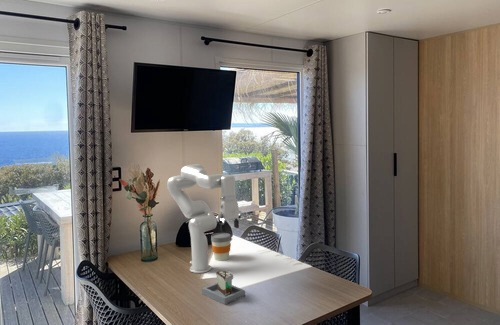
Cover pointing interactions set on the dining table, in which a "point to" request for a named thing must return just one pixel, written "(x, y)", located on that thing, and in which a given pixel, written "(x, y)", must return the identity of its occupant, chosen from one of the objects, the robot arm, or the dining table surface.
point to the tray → (216, 295)
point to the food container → (224, 282)
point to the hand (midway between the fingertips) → (229, 229)
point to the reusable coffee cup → (221, 246)
